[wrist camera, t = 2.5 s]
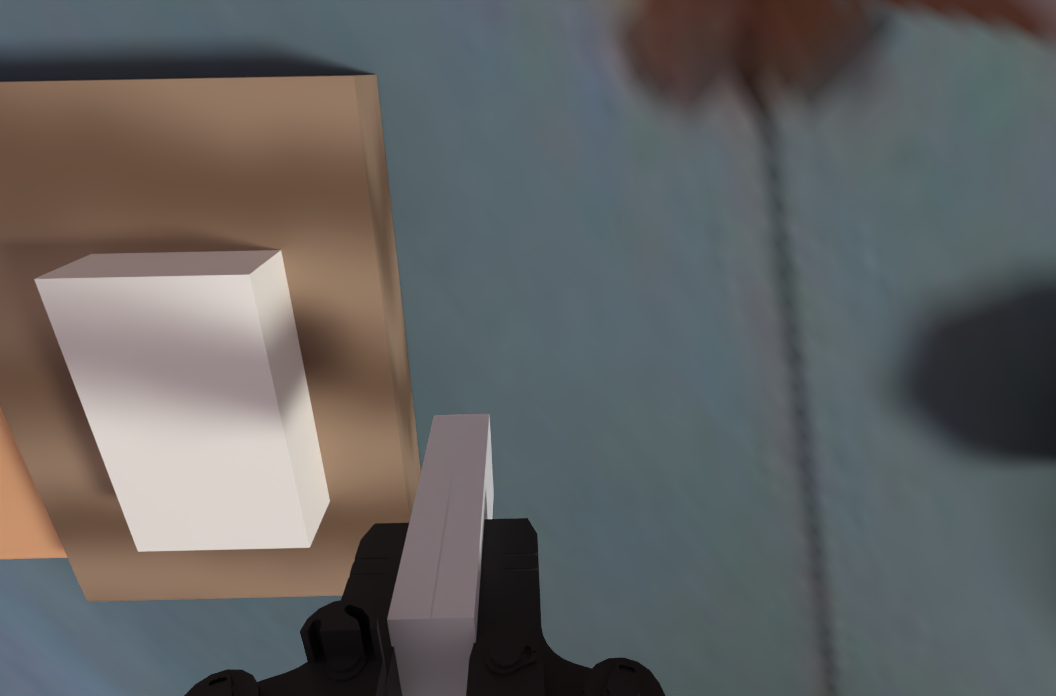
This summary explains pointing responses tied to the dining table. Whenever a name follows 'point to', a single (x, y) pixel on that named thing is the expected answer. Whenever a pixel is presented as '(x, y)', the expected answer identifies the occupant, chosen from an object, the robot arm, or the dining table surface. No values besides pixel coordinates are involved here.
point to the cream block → (194, 395)
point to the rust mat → (22, 507)
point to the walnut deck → (201, 226)
